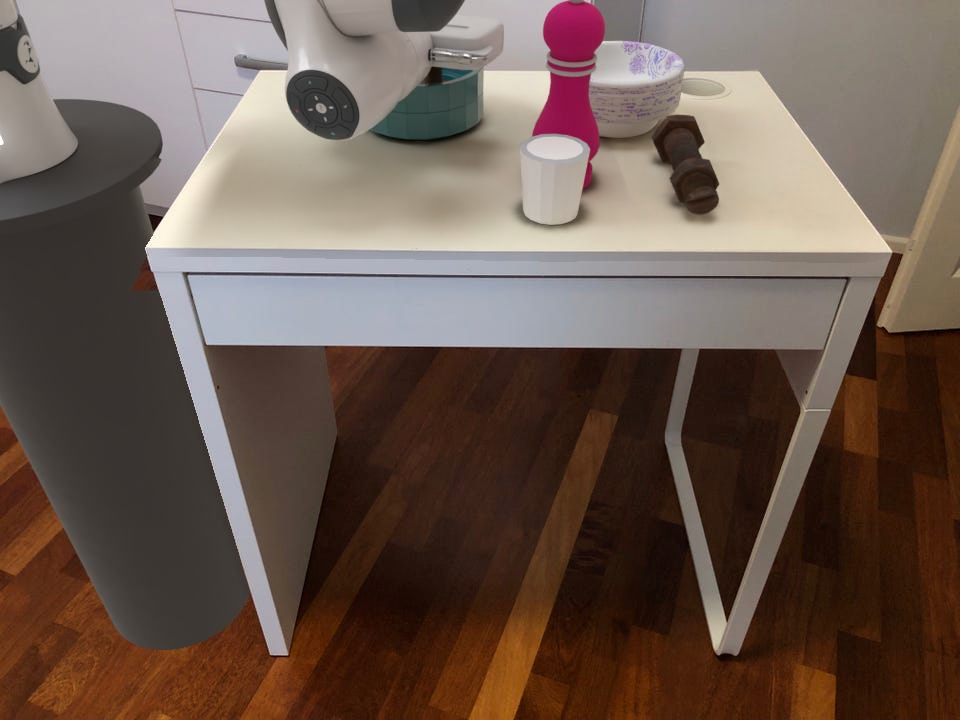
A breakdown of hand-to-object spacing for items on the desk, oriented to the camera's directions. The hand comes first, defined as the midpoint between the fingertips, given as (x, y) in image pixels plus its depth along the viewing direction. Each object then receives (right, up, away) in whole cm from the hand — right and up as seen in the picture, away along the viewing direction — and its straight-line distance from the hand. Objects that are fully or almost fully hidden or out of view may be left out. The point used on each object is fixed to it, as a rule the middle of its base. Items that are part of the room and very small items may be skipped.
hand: (434, 14), depth 93 cm
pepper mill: (+14, -21, -6) cm, 26 cm away
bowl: (-2, -10, +7) cm, 12 cm away
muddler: (0, -8, +6) cm, 10 cm away
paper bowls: (+22, -11, +6) cm, 25 cm away
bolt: (+27, -22, -7) cm, 36 cm away
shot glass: (+13, -25, -11) cm, 30 cm away
